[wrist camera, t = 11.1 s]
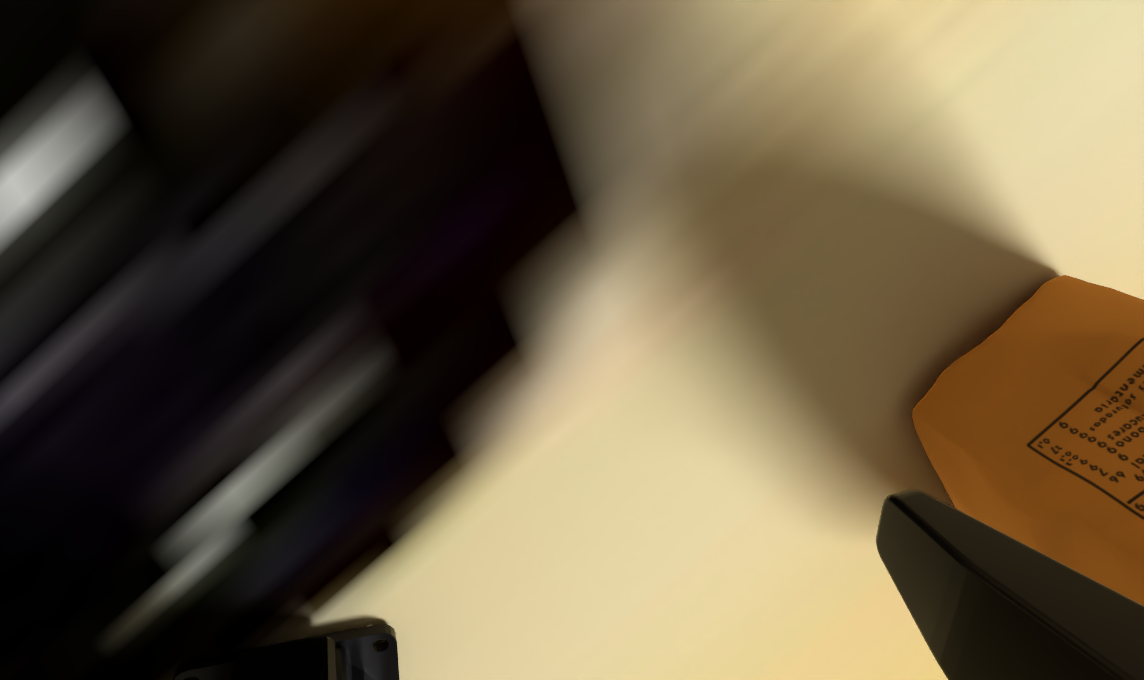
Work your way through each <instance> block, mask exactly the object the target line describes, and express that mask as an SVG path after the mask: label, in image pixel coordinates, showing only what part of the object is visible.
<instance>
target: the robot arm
mask: <svg viewBox="0 0 1144 680" xmlns="http://www.w3.org/2000/svg"><path fill="white" fill-rule="evenodd" d="M876 544H877V549H878V552H879V555H880V557H881V559H882V561H883V563H884V565H885V567H886V568H887V570H888V572H889V574H890V576H891V578H892V580H893V582H894V583H895V585H896V587H897V589H898V591H899V593H900V595H901V596H902V598H903V600H904V602H905V604H906V606H907V608H908V609H909V611H910V613H911V615H912V617H913V619H914V621H915V623H916V624H917V626H918V628H919V630H920V632H921V634H922V636H923V637H924V639H925V641H926V643H927V645H928V647H929V648H930V650H931V652H932V654H933V655H934V657H935V659H936V661H937V662H938V664H939V666H940V667H941V669H942V670H943V672H944V674H945V675H946V677H947V678H948V680H1144V606H1143V605H1141V604H1139V603H1137V602H1136V601H1134V600H1132V599H1130V598H1128V597H1126V596H1124V595H1122V594H1120V593H1118V592H1116V591H1114V590H1112V589H1110V588H1108V587H1107V586H1105V585H1103V584H1101V583H1099V582H1097V581H1095V580H1093V579H1091V578H1089V577H1087V576H1085V575H1083V574H1081V573H1079V572H1077V571H1076V570H1074V569H1072V568H1070V567H1068V566H1066V565H1064V564H1062V563H1060V562H1058V561H1056V560H1054V559H1052V558H1050V557H1048V556H1047V555H1045V554H1043V553H1041V552H1039V551H1037V550H1035V549H1033V548H1031V547H1029V546H1027V545H1025V544H1023V543H1021V542H1019V541H1018V540H1016V539H1014V538H1012V537H1010V536H1008V535H1006V534H1004V533H1002V532H1000V531H998V530H996V529H994V528H992V527H990V526H989V525H987V524H985V523H983V522H981V521H979V520H977V519H975V518H973V517H971V516H969V515H967V514H965V513H963V512H961V511H960V510H958V509H956V508H954V507H952V506H950V505H948V504H946V503H944V502H942V501H940V500H938V499H936V498H934V497H932V496H931V495H929V494H927V493H925V492H922V491H919V490H915V489H913V490H907V491H903V492H899V493H896V494H892V495H889V496H887V497H886V498H885V500H884V502H883V505H882V510H881V515H880V520H879V525H878V531H877V536H876ZM380 639H385V641H384V642H381V643H375V642H376V641H377V640H380ZM188 677H197V679H195V680H399V669H398V654H397V641H396V633H395V631H394V629H393V628H392V627H391V626H389V625H386V624H380V625H374V626H369V627H363V628H358V629H353V630H348V631H342V632H337V633H332V634H327V635H321V636H316V637H311V638H306V639H300V640H295V641H290V642H285V643H279V644H274V645H269V646H264V647H258V648H253V649H248V650H243V651H237V652H232V653H227V654H222V655H216V656H211V657H206V658H200V659H195V660H190V661H187V662H184V663H182V664H181V665H180V666H178V668H177V669H176V671H175V674H174V678H173V680H189V679H187V678H188Z"/></svg>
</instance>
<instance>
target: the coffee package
mask: <svg viewBox="0 0 1144 680" xmlns="http://www.w3.org/2000/svg"><path fill="white" fill-rule="evenodd" d="M912 419H913V423H914V427H915V430H916V432H917V434H918V437H919V439H920V441H921V443H922V445H923V447H924V450H925V452H926V454H927V456H928V458H929V460H930V461H931V463H932V465H933V467H934V469H935V471H936V472H937V474H938V476H939V478H940V479H941V481H942V483H943V485H944V488H945V490H946V492H947V493H948V495H949V496H950V498H951V500H952V502H953V504H954V506H955V508H956V509H958V510H960V511H961V512H963V513H965V514H967V515H969V516H971V517H973V518H975V519H977V520H979V521H981V522H983V523H985V524H987V525H989V526H990V527H992V528H994V529H996V530H998V531H1000V532H1002V533H1004V534H1006V535H1008V536H1010V537H1012V538H1014V539H1016V540H1018V541H1019V542H1021V543H1023V544H1025V545H1027V546H1029V547H1031V548H1033V549H1035V550H1037V551H1039V552H1041V553H1043V554H1045V555H1047V556H1048V557H1050V558H1052V559H1054V560H1056V561H1058V562H1060V563H1062V564H1064V565H1066V566H1068V567H1070V568H1072V569H1074V570H1076V571H1077V572H1079V573H1081V574H1083V575H1085V576H1087V577H1089V578H1091V579H1093V580H1095V581H1097V582H1099V583H1101V584H1103V585H1105V586H1107V587H1108V588H1110V589H1112V590H1114V591H1116V592H1118V593H1120V594H1122V595H1124V596H1126V597H1128V598H1130V599H1132V600H1134V601H1136V602H1137V603H1139V604H1141V605H1143V606H1144V300H1142V299H1139V298H1136V297H1133V296H1131V295H1128V294H1125V293H1122V292H1120V291H1117V290H1114V289H1111V288H1108V287H1104V286H1100V285H1096V284H1092V283H1089V282H1086V281H1083V280H1080V279H1077V278H1073V277H1070V276H1066V275H1063V276H1058V277H1056V278H1053V279H1051V280H1049V281H1047V282H1045V283H1044V284H1043V285H1042V286H1040V288H1039V289H1038V290H1037V291H1036V292H1035V293H1034V295H1033V296H1032V297H1031V298H1030V299H1029V300H1027V301H1026V302H1025V303H1024V304H1023V305H1022V306H1020V307H1019V308H1018V309H1017V310H1016V311H1015V312H1014V313H1013V314H1012V315H1011V316H1010V317H1009V318H1008V319H1007V320H1006V321H1005V323H1004V324H1003V325H1002V326H1001V327H1000V328H999V329H998V330H997V331H996V332H994V333H993V334H991V335H990V336H989V337H988V338H987V339H986V340H984V341H983V342H982V343H981V344H979V345H978V346H976V347H975V348H973V349H972V350H971V351H969V352H968V353H966V354H965V355H963V356H962V357H960V358H959V359H957V360H956V361H955V362H953V363H952V364H951V365H950V366H949V367H948V368H946V369H945V370H944V371H943V372H942V373H941V374H940V376H939V377H938V378H937V380H936V382H935V383H934V385H933V386H932V387H931V388H930V390H929V391H928V392H927V393H926V395H925V396H924V397H923V398H922V399H921V400H920V401H919V402H918V403H917V404H916V406H915V407H914V408H913V411H912Z"/></svg>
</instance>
